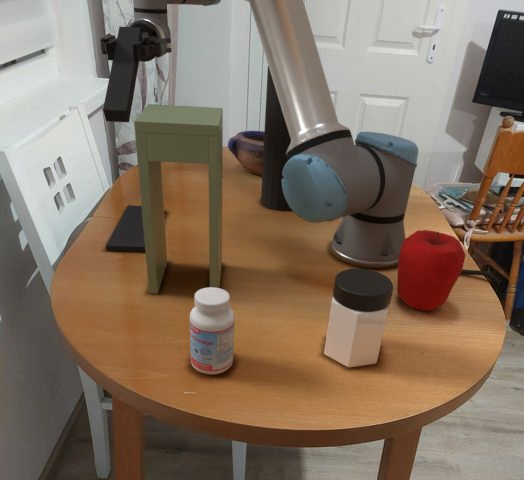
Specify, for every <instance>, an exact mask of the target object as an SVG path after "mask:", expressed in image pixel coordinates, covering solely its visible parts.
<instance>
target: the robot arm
mask: <svg viewBox="0 0 524 480" xmlns="http://www.w3.org/2000/svg"><path fill="white" fill-rule="evenodd" d="M221 1H222V0H132V2H133V19H134V21H132V22H131V23H130V24H129V25H128V26H127V27H140V28H141V33H142V39H143V41H138V42H136V43H134V44H133V53H134V62H139V63H140V62H141V63H146V62H151V61H153V60H154V59H155V58H161V57H163V56H165V55H166V54H170V53H173V51H172V33H171V29H170V26H169V17H168V16H169V15H168V12H169V11H168V5H187V6H188V5H189V6H192V5H193V6H203V7H207V6H215V5H219V4H220V3H221ZM244 1H245V2H247V3H248V4H249V6H250V10H251V13H252V17H253V19H254V22H255V23H254V24H255V27H256V30H257V32H258V36H259V39H260V43H261V46H262V50H263V53H264V55H265V59H266V62H267V67H268V66H269V69H270V72H271V76H272V79H273V82H274V85H275V89H276V92H277V95H278V99H279V102H280V105H281V108H282V112H283V115H284V118H285V122H286V125H287V128H288V132H289V135H290V138H291V143H290V145H289V147H288V150H287V152H286V155H287V158H288V162H287V163H286V164H285V166H284V169H283V172H282V175H283V177H284V178H283V179H282V189H283V193H284V196H285V199H286V201H287V203H288V205H289V206H290V208H291V209H292V210H291V211H292V212H293V213H294V214H295V215H296V216H297V217H299V218H301V219H302V220H303V221H305V222H307V223H312V224H319V223H325V222H328V223H329V222H334V221H336V220H339V219H341V221H340V222H339V225H338V226H337V229H335V230H336V231H335V233H333V236H332V240H331V246H330V250H331V253H332V254H333V256H334V257H335V258H337V259H338V260H340V261H342V262H343V263H346V264H349V265H352V266H355V267H359V268H363V269H371V270H374V269H377V270H379V269H381V270H382V269H390V268H394V267H398V257H399V253H400V250H401V247H402V244H403V241H404V239H406V232H405V230H406V229H405V223H404V222H405V216H406V211H407V208H408V204H409V199H410V194H411V190H412V185H413V181H414V177H415V172H416V168H417V167H418V162H417V161H418V158H419V157H418V155H419V147H418V145H417V144H416V143H415V142H414V141H412V140H410V139H407V138H404V137H400V136H396V135H392V134H387V133H384V132H383V133H382V132H375V131H360V132H358V133H357V135H356V138H355V139H354V138H353V135H352V132H351V129H350V128H349V127H347V126H346V125H343V124H342V123H340V122H339V119H338V116H337V112H336V109H335V105H334V102H333V99H332V95H331V92H330V88H329V84H328V81H327V78H326V75H325V71H324V68H323V64H322V60H321V57H320V54H319V50H318V47H317V43H316V40H315V36H314V33H313V29H312V26H311V22H310V19H309V16H308V12H307V9H306V5H305V1H304V0H244ZM99 41H100V50H101V54H102V55H106V56H107V61H113V57H114V52H115V47H116V41H117V37H116V35H115V34H111V33H107V34H105V36H103V37H101V38H99ZM332 228H333V229H332V230H334V227H332ZM460 275H468V276H481V277H486V278H488V279H490V281H492V282H493V284H495V285H500V284H501V282H500V280H499V279H498V278H497V276H496V275H495V274H493V273H491V272H489V271H486V270H478V269H473V270H472V269H465V268H463V269H462V272H461V273H460Z"/></svg>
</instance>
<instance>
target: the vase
mask: <svg viewBox="0 0 524 480" xmlns="http://www.w3.org/2000/svg"><path fill="white" fill-rule="evenodd" d="M266 75H267V77H266V93H265V95H266V96H265V115H264V130H263V131H264V150H263V170H262V175H261V190H260V203H261V204H262V206H264V207H266V208H268V209H271V210H275V211H292V209H291V208H290V206H289V205H288V203H287V201H286V199H285V196H284V193H283V189H282V179H283V178H284V177H283V175H282V172H283V169H284V166H285V164H286V163H287V162H288V158H287V155H286V152H287V150H288V147H289V145H290V143H291V138H290V135H289V132H288V128H287V125H286V122H285V118H284V115H283V112H282V108H281V105H280V102H279V99H278V95H277V92H276V89H275V85H274V82H273V79H272V76H271V72H270V69H269V66H268V65H267V74H266Z"/></svg>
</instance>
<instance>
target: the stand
mask: <svg viewBox="0 0 524 480" xmlns="http://www.w3.org/2000/svg"><path fill="white" fill-rule="evenodd" d="M223 115H224V108H223V107H210V106H209V107H208V106H195V105H194V106H193V105H191V106H189V105H173V104H155V103H153V104H152V103H148V104H147V105H146V106H145V107H144V109H142V111H141V112H140V113H139V115H137V117H136V118H135V119H134V120H133V126H134V136H135V148H136V159H137V170H138V183H139V193H140V194H139V195H140V204H141V205H140V206H142V217H143V229H144V240H145V251H146V252H145V261H146V272H147V273H146V274H147V283H148V294H155V295H159V291H160V288H161V284H162V281H163V279H164V278H163V277H164V274H165V271H166V268H167V266H168V265H167V264H168V254H167V253H168V252H167V238H166V237H167V236H166V223H165V206H164V187H163V174H162V173H163V172H162V163H178V164H179V163H182V164H201V165H208V226H209V227H208V233H209V234H208V242H209V243H208V245H209V246H208V249H209V251H208V252H209V253H208V255H209V258H208V259H209V287H215V288H220V285H221V277H222V276H221V275H222V268H223V267H222V265H223V152H224V151H223V148H224V147H223V143H224V142H223V141H224V139H223V137H224V135H223V134H224V133H223V129H224V127H223V125H224V123H223V122H224V121H223V117H224V116H223Z"/></svg>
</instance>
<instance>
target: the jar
mask: <svg viewBox="0 0 524 480" xmlns="http://www.w3.org/2000/svg"><path fill="white" fill-rule="evenodd" d="M393 292H394V283H393V281H392V280H391V279H390V278H389V277H388V276H387V275H385V274H383V273H381V272H379V271H376V270H374V269H369V268H360V267H359V268H357V267H356V268H348V269H344V270H342V271H339V272H338V273H337V274H336V275H335V278H334V284H333V291H332V299H331V305H330V310H329V311H330V312H329V318H328V325H327V331H326V337H325V345H324V351H323V354H324V355H325V356H327V357H328V358H330V359H332V360H334V361H336V362H337V363H338V364H339V363H340V364H341V365H343V366H345V367H346V368H348V369H349V368H355V367H363V366H369V365H374V364H377V362H378V358H379V354H380V350H381V346H382V341H383V337H384V332H385V327H386V323H387V319H388V314H389V309H390V308H389V306H390V304H391V300H392V296H393Z"/></svg>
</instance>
